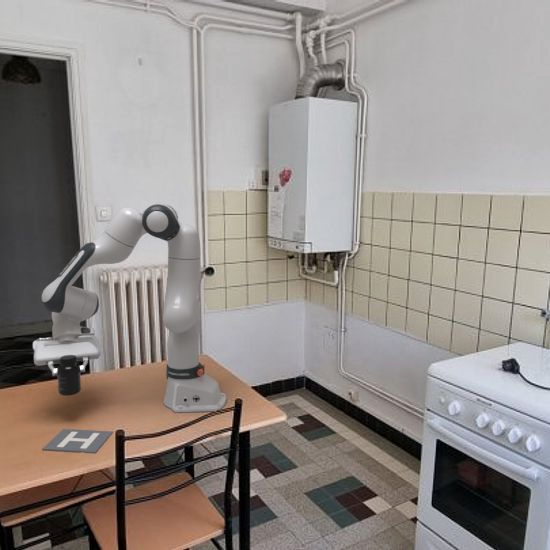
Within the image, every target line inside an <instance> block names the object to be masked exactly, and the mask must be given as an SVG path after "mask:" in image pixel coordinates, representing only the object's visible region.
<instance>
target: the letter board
mask: <svg viewBox="0 0 550 550" xmlns="http://www.w3.org/2000/svg"><path fill="white" fill-rule="evenodd" d="M113 433H114V432H113V431H111V430H110V431H107V430H93V429H92V430H91V429H87V430H86V429H74V428H63V429H61V431H59V432H58V433H57V434H56V435H55V436H54V437H53V438H52V439H51V440H50V441H49V442H48V443H47V444H45V445H44V446H43V447H42V448H41V450H42V451H48V452H51V451H53V452H67V453H81V452H84V453H85V454H97V452H98V451H99V450H100V449H101V448H102V446H103V445H104V444H105V443H106V442H107V440H108V439H109V438H110V437H111V435H112V434H113ZM109 436H110V437H109ZM104 442H105V443H104ZM99 448H100V449H99ZM98 449H99V450H98ZM97 450H98V451H97Z"/></svg>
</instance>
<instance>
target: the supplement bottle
mask: <svg viewBox="0 0 550 550" xmlns="http://www.w3.org/2000/svg"><path fill="white" fill-rule="evenodd" d="M80 366H81V365H79V363H78V361H77V360H76V356H75V355H65V356H62V357H61V358H60V363H59V365H58V367H57V368H56V369H57V374H58V375H57V389H58V393H59V394H58V395H60V396H63V397H64V396H66V397H68V396H74V395H77V394H79V393H80V391H81V389H82V384H81V383H82V381H81V372H80Z"/></svg>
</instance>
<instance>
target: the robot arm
mask: <svg viewBox="0 0 550 550" xmlns="http://www.w3.org/2000/svg"><path fill="white" fill-rule="evenodd" d="M178 217H179V216H178V214H177V211H176V210H175V209H174V208H173V206H171V205H170V204H169V205H168V204H166V203H161V202H159V203H154V204H152V205H150V206H148V207H147V208H146V209H145V210H144V211H140V210H137V209H136V208H132V207H123V208H121V209H120V210H119V211H118V212H117V213H116V214H115V215H114V216H113V218H112V219H111V220H110V222H109V223H108V225H106V228H105V229H104V231H103V232H102V234H100V236H98V237H97V238H96V239H95V240H93V241H92V242H87V243H85V244H83V246H81V248H80V249H79V250H78V251H77V252H76V253H75V254H74V255H73V257H72V258H71V259H70V261H69V262H68V263H67V264H66V265H65V266H64V267H63V269H62V270H60V271H59V273H58V275H57V276H56V277H55V278H54V279H52V280H51V281H50V282H49V283H48V284H47V285H46V286H45V287H44V288H43V291H41V292H42V293H41V296H40V301H41V304H42V305H43V307H44V308H45V310H46V311H47V312H49V313H51V320H52V323H53V324H52V327H51V328H52V330H51V331H52V332H51V333H52V336H49V337H48V336H47V337H39V338H37V339H36V340H34V341H33V342H32V350H33V352H34V353H33V363H34V365H35V366H37V367H38V366H39V367H40V366H48V368H49V369H50V371H51V374H52V377H55V376H57V377H58V374H57V369H58V368H55V367H54V365H57V364H60V358H61V357H62V356H65V355H75V356H76V360H77V362H83V363H82V365H79V366H80V373H85V372H86V366H87V365H88V363H89V362H88V361H92V360H98V359H99V358H100V357H101V346H100V343H99V339H98V337H97V336H96V333H95V329H94V328H91V327H87V326H81V324H80V323H82V322H84V321H88V319H90V318H92V317H93V316H95V315H96V314H97V313H98V311H99V307H100V301H99V300H100V299H99V297H98V295H97V294H96V292H93V291H90V290H89V289H84V288H80V287H77V286H73V284H75V282H76V281H78V278H79V277H80V276H81V275H82V274H83V272H84V271H85V270H86V269H88V268H90V267H92V266H95V265H113V264H119V263H122V262H124V261H126V260H127V259H128V258H129V257H130V255H131V254H132V252H133V250H135V247H136V245H137V244H138V242H139V241H140V239H141V238H142V236H144V235H145V234H148V235H150V236H152V237H154V238H157V239H160V240H162V241H165V242H167V248H168V251H167V281H166V287H165V295H164V303H163V304H164V305H163V315H162V321H163V322H162V323H163V325H164V327H165V328H166V330H168V337H167V343H166V345H167V346H166V347H167V348H166V349H167V351H166V353H167V364H166V368H165V375H166V380H167V383H166V391H165V395H164V399H163V405H164V406H166V407H167V408H169V409H171V410H172V411H173V412H174V413H195V412H196V413H199V412H218V411H219V410H222V409H223V407H225V405H226V404H227V394H225V392H221V387H220V384H219V382H218V381H217V380H215V379H214V378H212V377H211V376H209V374H207V373H206V372H205V367H206V366H205V363H203V364H202V363H201V362H200V350H199V349H200V328H201V314H202V313H201V306H202V305H201V302H200V299H199V298H198V296H199V286H200V281H201V280H200V279H201V240H200V234H199V231H198V230H197V228H195V227H194V226H192V225H191V224H190V225H189V224H182V223H181V222H180V221H179V218H178ZM217 410H218V411H217Z"/></svg>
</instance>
